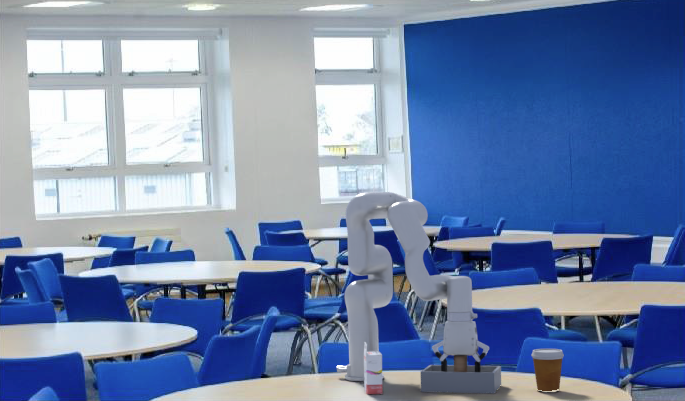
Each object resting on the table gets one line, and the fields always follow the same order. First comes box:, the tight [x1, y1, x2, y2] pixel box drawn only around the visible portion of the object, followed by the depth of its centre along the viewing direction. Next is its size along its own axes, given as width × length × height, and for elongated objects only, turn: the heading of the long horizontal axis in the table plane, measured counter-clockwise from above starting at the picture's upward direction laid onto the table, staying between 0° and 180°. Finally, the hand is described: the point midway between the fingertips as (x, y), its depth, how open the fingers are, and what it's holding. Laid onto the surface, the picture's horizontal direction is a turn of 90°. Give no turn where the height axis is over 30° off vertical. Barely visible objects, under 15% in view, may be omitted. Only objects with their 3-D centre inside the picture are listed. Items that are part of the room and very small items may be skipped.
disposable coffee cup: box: [530, 348, 565, 391], centre depth 359 cm, size 10×10×12 cm
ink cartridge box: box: [363, 343, 384, 395], centre depth 365 cm, size 9×5×15 cm, turn 5°
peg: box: [453, 355, 468, 372], centre depth 367 cm, size 4×4×10 cm
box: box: [420, 364, 502, 394], centre depth 367 cm, size 22×14×6 cm, turn 75°
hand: (460, 374), depth 367 cm, fingers open, 9 cm apart
